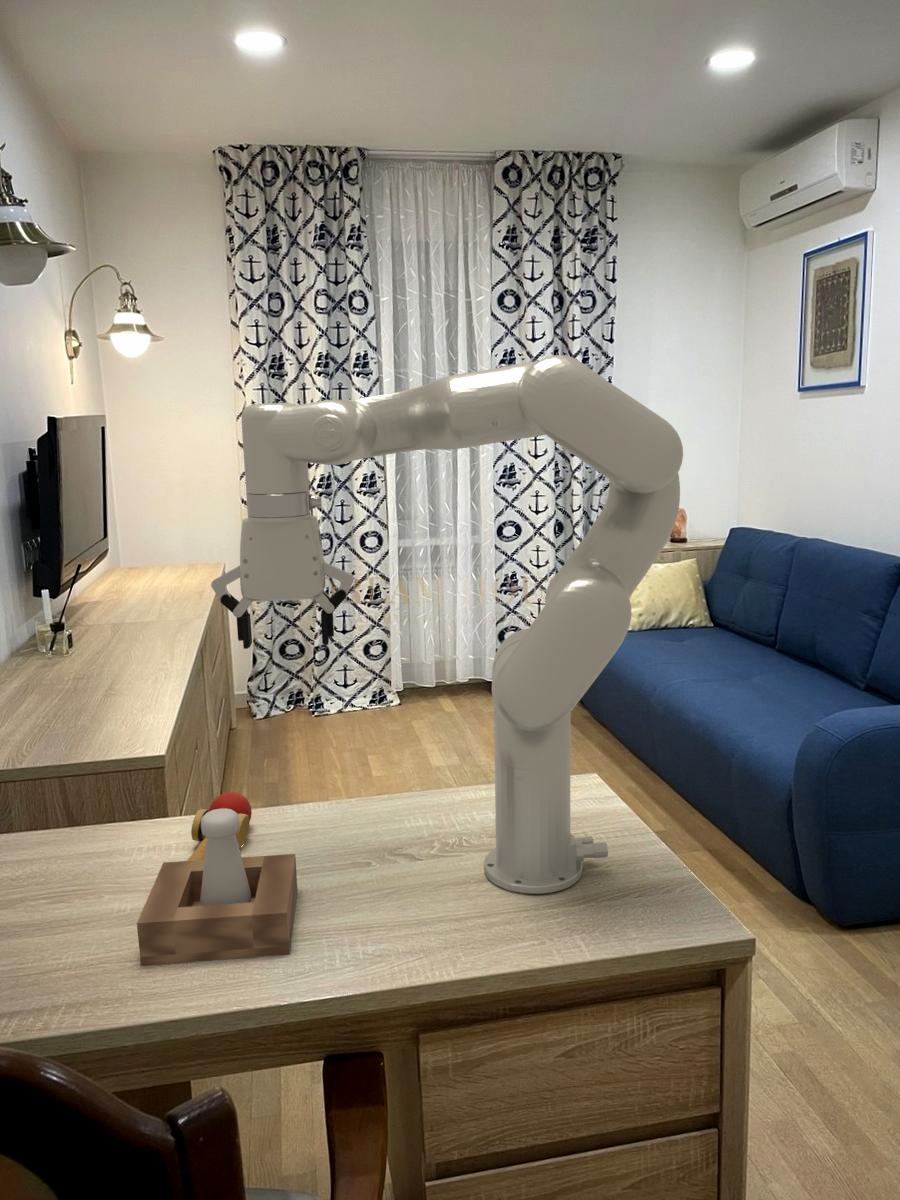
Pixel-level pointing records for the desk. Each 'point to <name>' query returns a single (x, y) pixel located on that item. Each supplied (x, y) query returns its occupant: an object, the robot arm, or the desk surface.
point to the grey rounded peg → (223, 860)
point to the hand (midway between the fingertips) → (287, 644)
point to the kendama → (222, 801)
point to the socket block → (218, 914)
